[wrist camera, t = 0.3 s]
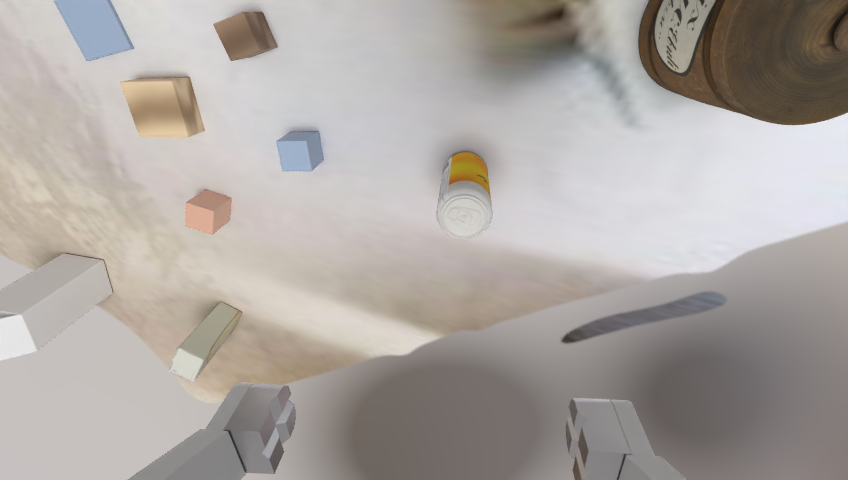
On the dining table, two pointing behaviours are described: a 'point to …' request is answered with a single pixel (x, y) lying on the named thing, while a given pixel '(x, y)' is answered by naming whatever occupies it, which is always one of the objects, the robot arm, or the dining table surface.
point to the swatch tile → (94, 27)
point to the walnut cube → (245, 35)
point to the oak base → (163, 106)
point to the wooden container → (752, 55)
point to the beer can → (464, 197)
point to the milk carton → (49, 302)
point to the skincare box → (204, 342)
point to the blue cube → (300, 151)
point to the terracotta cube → (208, 211)
